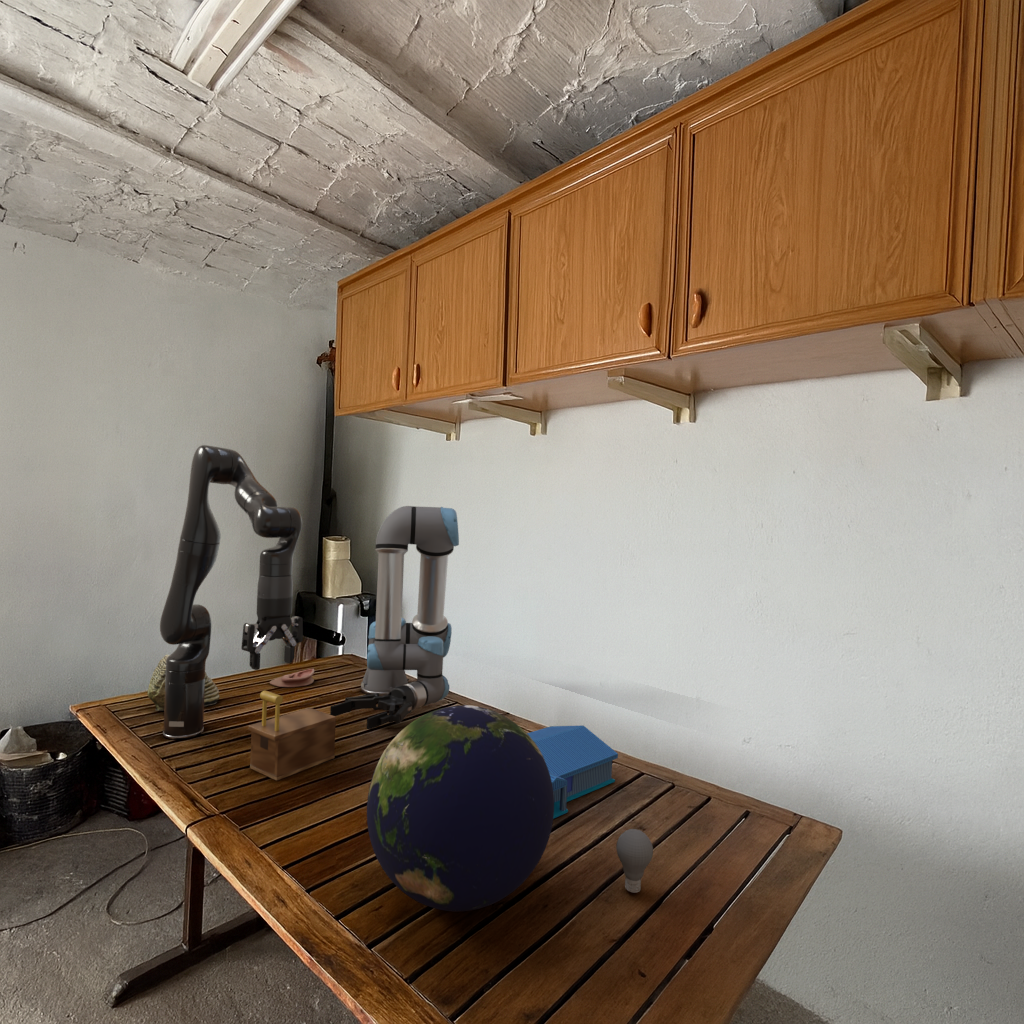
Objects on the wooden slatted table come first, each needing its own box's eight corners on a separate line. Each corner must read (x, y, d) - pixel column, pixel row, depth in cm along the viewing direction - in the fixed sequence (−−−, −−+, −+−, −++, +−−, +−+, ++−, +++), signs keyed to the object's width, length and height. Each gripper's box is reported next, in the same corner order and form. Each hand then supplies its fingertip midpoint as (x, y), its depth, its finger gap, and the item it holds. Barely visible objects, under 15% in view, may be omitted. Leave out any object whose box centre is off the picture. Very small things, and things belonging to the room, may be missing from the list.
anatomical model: (264, 673, 208) (283, 664, 219) (264, 685, 208) (283, 676, 219) (301, 677, 205) (319, 668, 216) (301, 689, 205) (318, 679, 216)
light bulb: (610, 879, 108) (613, 822, 108) (644, 879, 109) (647, 822, 109) (619, 902, 102) (622, 840, 102) (655, 901, 103) (658, 840, 103)
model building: (497, 843, 118) (499, 790, 118) (422, 794, 136) (424, 748, 136) (626, 786, 145) (628, 743, 144) (549, 751, 163) (551, 713, 163)
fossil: (144, 707, 182) (145, 655, 182) (212, 696, 194) (213, 647, 194) (151, 716, 175) (153, 662, 175) (221, 703, 188) (223, 653, 188)
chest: (276, 780, 140) (278, 740, 140) (249, 768, 146) (251, 729, 146) (334, 758, 154) (335, 720, 153) (307, 747, 159) (309, 711, 159)
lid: (274, 740, 139) (276, 700, 139) (247, 729, 145) (249, 690, 145) (335, 720, 153) (337, 683, 153) (309, 711, 159) (310, 675, 159)
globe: (322, 922, 94) (330, 722, 94) (423, 829, 122) (430, 674, 122) (507, 988, 83) (517, 762, 83) (572, 869, 111) (580, 699, 110)
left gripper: (256, 600, 136) (254, 675, 136) (311, 593, 147) (309, 662, 148) (236, 595, 140) (233, 668, 140) (291, 589, 152) (288, 657, 152)
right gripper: (439, 721, 173) (383, 744, 155) (374, 701, 187) (316, 721, 169) (440, 694, 173) (384, 714, 155) (375, 676, 187) (317, 693, 169)
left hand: (272, 665), depth 144 cm, fingers open, 8 cm apart
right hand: (348, 717), depth 162 cm, fingers open, 13 cm apart
